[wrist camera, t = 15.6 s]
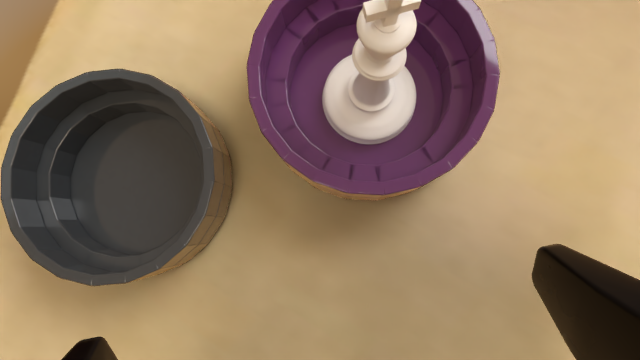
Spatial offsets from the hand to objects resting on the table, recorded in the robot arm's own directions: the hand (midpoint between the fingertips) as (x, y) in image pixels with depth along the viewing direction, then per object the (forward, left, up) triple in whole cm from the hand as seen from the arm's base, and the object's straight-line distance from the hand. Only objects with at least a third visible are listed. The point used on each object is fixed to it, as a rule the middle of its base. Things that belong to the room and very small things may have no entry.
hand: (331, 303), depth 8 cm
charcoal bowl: (+10, -5, -13) cm, 17 cm away
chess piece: (-3, -8, -13) cm, 15 cm away
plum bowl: (-2, -8, -13) cm, 16 cm away
